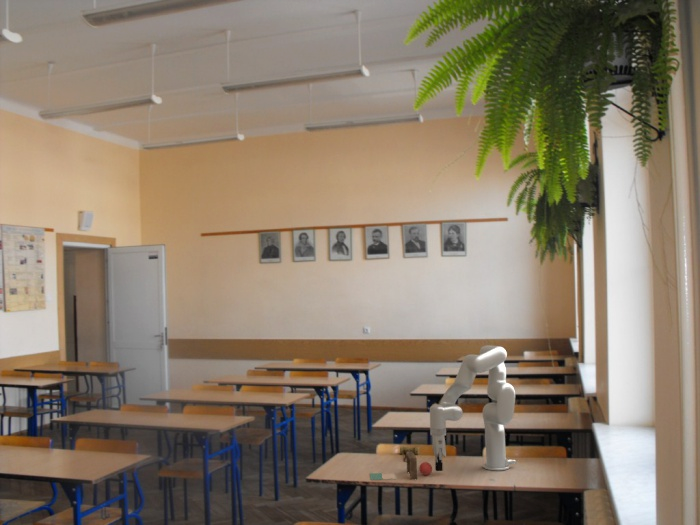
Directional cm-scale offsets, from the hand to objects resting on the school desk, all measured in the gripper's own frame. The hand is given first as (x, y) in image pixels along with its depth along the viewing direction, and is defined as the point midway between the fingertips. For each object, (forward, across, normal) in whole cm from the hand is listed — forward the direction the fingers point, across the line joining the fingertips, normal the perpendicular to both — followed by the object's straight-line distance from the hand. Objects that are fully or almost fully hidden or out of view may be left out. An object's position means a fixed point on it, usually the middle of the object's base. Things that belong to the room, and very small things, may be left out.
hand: (439, 470), depth 313 cm
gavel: (+3, +39, +10) cm, 40 cm away
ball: (-1, 0, +6) cm, 6 cm away
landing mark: (+2, 0, +27) cm, 27 cm away
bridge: (+2, 0, +13) cm, 13 cm away
